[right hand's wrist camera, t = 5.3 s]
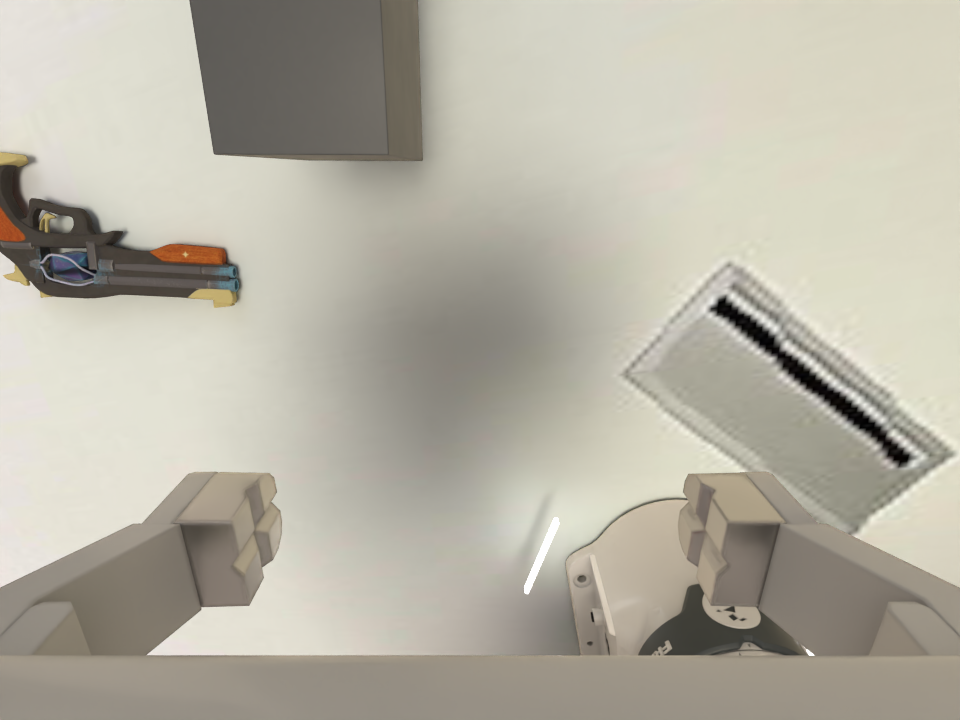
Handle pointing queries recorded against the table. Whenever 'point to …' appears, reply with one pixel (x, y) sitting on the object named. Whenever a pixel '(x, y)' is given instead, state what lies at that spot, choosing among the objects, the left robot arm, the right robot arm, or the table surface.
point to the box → (311, 78)
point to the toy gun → (102, 256)
